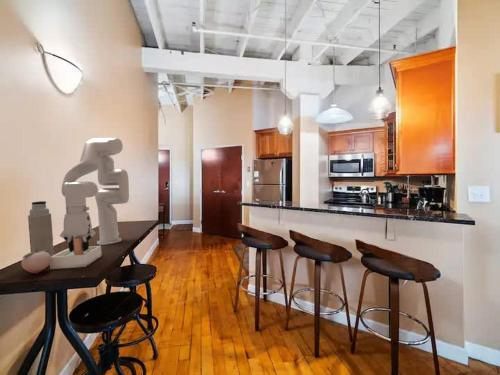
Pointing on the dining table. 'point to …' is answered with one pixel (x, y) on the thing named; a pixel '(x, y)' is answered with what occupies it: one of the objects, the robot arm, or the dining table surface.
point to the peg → (78, 246)
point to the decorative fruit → (36, 261)
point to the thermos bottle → (40, 228)
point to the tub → (75, 258)
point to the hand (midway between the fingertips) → (79, 250)
